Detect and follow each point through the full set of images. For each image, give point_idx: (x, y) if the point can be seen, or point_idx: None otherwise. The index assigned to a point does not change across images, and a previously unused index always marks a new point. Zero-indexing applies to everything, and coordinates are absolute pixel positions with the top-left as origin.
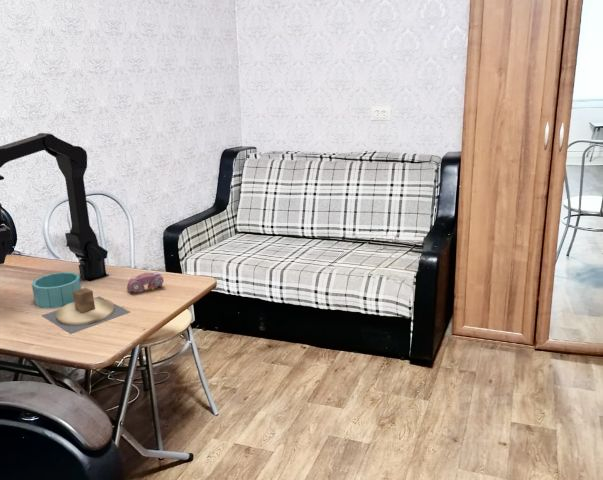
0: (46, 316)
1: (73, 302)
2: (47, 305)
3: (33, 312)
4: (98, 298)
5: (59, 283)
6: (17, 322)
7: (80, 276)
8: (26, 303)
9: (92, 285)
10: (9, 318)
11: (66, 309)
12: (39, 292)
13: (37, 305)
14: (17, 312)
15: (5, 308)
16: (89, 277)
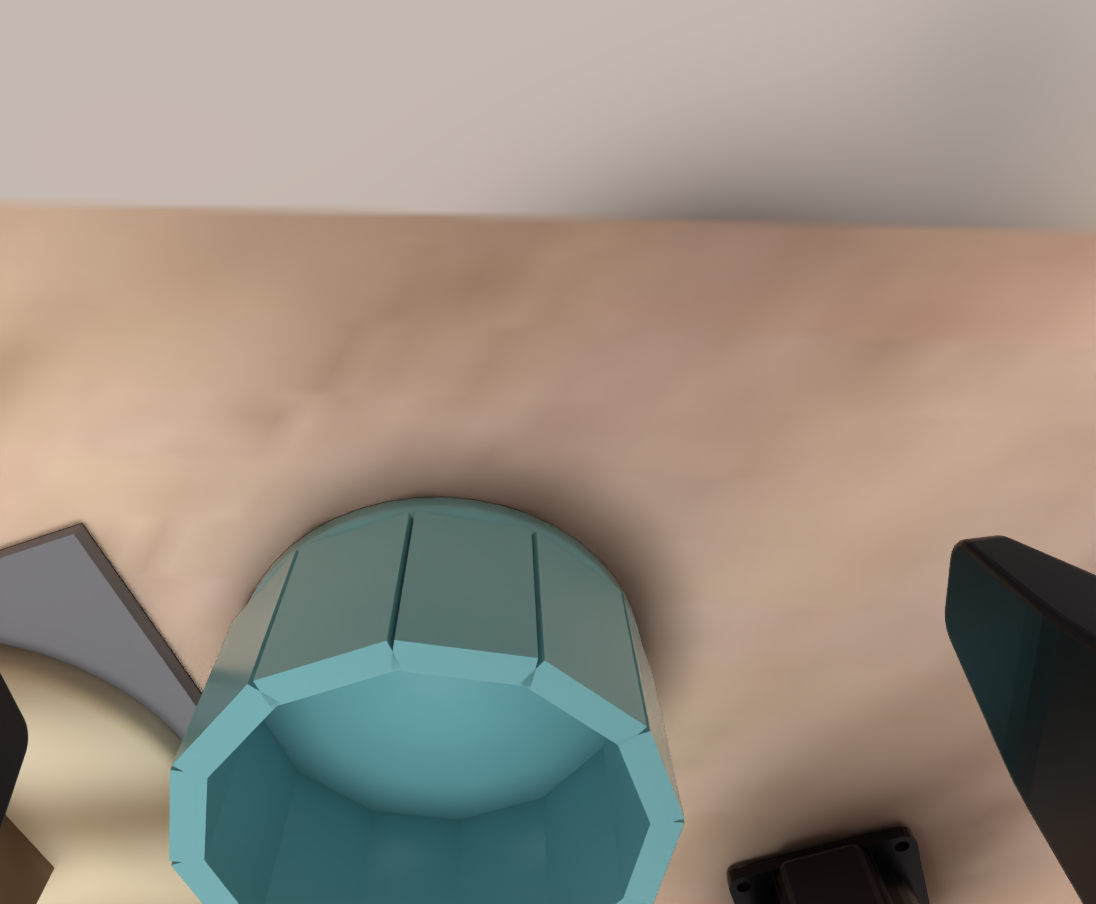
0: (28, 570)
1: None
2: (246, 607)
3: (246, 466)
4: None
5: (621, 768)
6: (25, 319)
7: (855, 855)
8: (539, 419)
9: None
10: (174, 247)
11: None
12: (247, 658)
13: (363, 517)
14: (319, 329)
15: (510, 216)
16: (779, 900)
